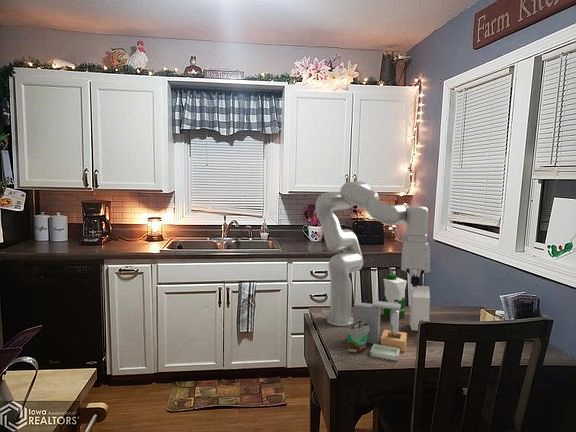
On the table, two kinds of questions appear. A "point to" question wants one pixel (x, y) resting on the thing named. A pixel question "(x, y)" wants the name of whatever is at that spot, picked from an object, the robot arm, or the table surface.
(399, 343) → the hitch
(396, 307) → the keeper plate
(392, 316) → the pin
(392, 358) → the tray
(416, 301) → the milk carton
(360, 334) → the food container
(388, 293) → the soya milk
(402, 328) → the table surface
